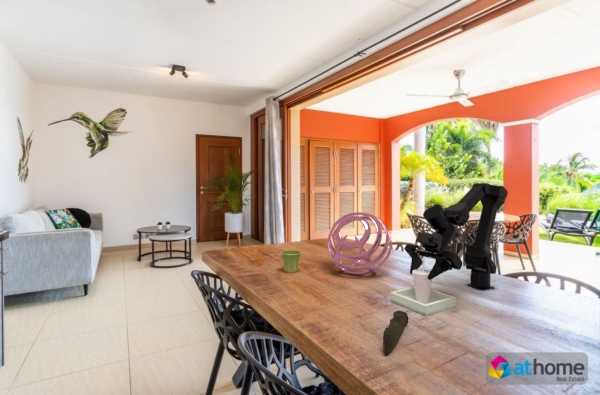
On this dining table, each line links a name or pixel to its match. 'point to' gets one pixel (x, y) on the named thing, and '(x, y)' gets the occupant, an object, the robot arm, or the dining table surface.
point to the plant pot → (290, 260)
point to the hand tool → (394, 330)
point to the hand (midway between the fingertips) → (419, 276)
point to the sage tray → (434, 305)
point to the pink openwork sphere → (358, 244)
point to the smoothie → (422, 284)
